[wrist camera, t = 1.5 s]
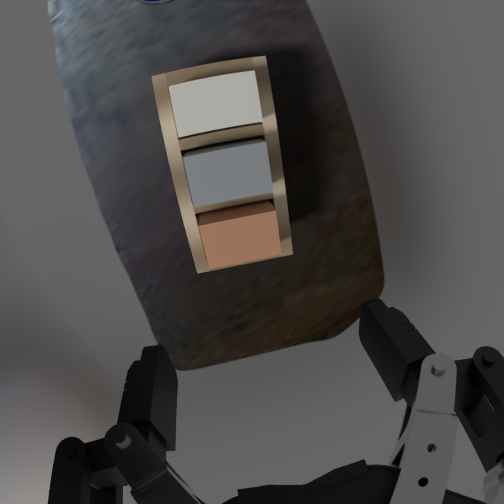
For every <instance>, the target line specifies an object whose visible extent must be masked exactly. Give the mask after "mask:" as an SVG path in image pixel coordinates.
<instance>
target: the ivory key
mask: <svg viewBox="0 0 504 504" xmlns="http://www.w3.org/2000/svg"><path fill="white" fill-rule="evenodd" d="M168 87H169V92H170V98H171V103H172V108H173V113H174V118H175V123H176V128H177V133H178V138H179V137H183V136H188V135H192V134H197V133H202V132H206V131H211V130H216V129H222V128H227V127H233V126H238V125H244V124H251V123H257V122H263V118H262V112H261V106H260V100H259V93H258V87H257V81H256V76H255V70H253V71H246V72H238V73H232V74H225V75H219V76H214V77H208V78H203V79H198V80H193V81H189V82H184V83H180V84H176V85H171V86H168Z"/></svg>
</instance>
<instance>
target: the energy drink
mask: <svg viewBox="0 0 504 504" xmlns="http://www.w3.org/2000/svg"><path fill="white" fill-rule="evenodd" d="M138 1H140V2H141V3H145V4H151V5H154V4H162V3H165V2H168V1H170V0H138Z"/></svg>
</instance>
